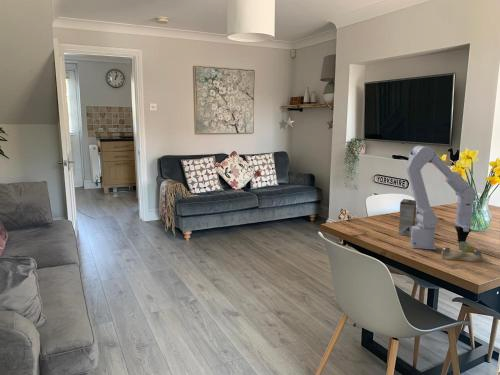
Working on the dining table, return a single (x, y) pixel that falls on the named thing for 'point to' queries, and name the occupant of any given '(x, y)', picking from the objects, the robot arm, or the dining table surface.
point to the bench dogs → (447, 250)
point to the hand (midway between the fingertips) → (461, 243)
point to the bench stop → (461, 256)
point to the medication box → (466, 247)
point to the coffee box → (407, 216)
